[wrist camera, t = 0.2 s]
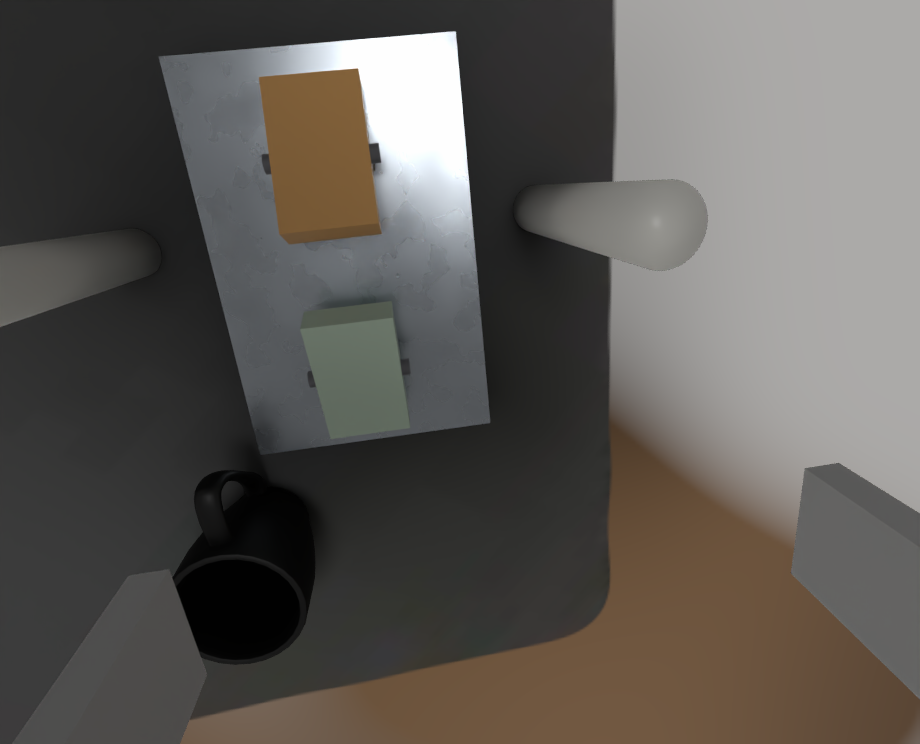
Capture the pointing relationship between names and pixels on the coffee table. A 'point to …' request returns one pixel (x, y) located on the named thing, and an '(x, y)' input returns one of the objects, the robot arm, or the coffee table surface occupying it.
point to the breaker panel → (348, 259)
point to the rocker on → (357, 368)
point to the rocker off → (320, 155)
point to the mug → (247, 571)
